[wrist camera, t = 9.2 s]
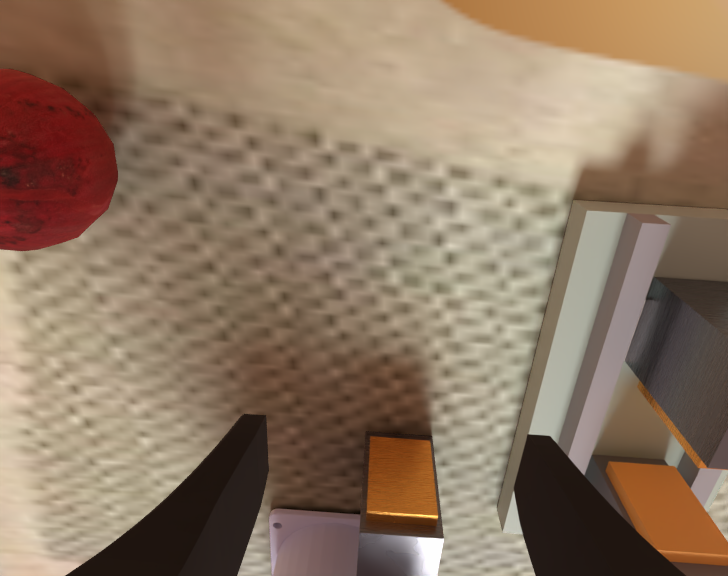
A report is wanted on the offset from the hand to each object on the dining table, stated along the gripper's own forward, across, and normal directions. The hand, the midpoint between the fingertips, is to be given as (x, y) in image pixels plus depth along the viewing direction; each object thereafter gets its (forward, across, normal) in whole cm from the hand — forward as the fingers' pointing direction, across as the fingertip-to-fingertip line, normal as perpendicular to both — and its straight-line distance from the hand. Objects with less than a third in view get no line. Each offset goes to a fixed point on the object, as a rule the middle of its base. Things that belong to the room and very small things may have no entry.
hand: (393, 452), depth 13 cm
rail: (+9, -12, +4) cm, 16 cm away
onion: (+10, +13, -6) cm, 17 cm away
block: (+10, -1, +10) cm, 14 cm away
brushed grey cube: (+8, -12, 0) cm, 14 cm away
